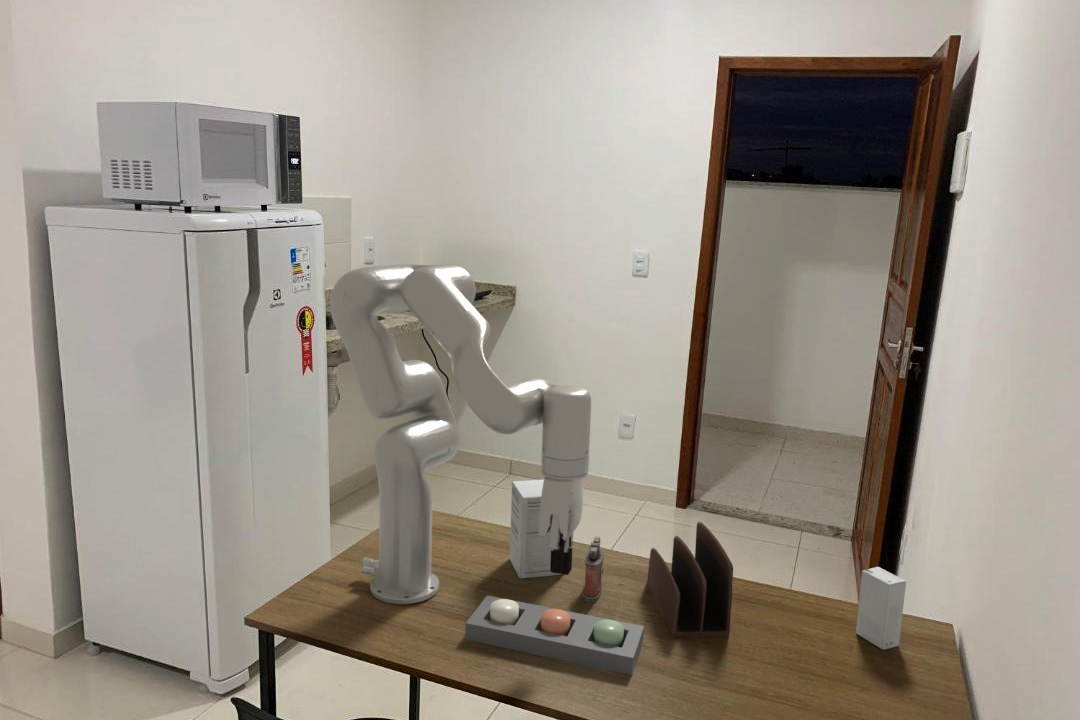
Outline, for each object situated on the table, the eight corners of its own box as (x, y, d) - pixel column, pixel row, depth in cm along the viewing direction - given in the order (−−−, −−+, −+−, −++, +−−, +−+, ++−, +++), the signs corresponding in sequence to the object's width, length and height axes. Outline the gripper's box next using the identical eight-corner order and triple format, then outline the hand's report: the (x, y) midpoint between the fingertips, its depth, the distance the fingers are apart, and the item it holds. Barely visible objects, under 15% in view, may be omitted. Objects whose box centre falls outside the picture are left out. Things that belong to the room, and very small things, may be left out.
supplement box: (552, 554, 164) (556, 477, 161) (565, 575, 156) (570, 494, 152) (507, 558, 162) (510, 480, 159) (518, 579, 153) (522, 496, 150)
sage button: (590, 648, 128) (591, 631, 127) (596, 633, 132) (597, 617, 132) (619, 654, 127) (620, 637, 126) (625, 639, 131) (626, 622, 130)
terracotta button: (536, 637, 130) (537, 620, 130) (545, 623, 135) (546, 606, 134) (565, 643, 129) (566, 626, 128) (572, 628, 134) (573, 612, 133)
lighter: (598, 603, 145) (602, 552, 143) (580, 600, 146) (583, 550, 144) (604, 583, 153) (607, 535, 151) (586, 581, 154) (589, 532, 152)
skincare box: (899, 646, 136) (909, 580, 133) (881, 651, 134) (890, 585, 131) (871, 628, 141) (879, 565, 139) (852, 633, 139) (861, 569, 137)
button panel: (465, 639, 131) (465, 622, 131) (486, 610, 141) (487, 595, 140) (631, 675, 124) (633, 658, 123) (642, 642, 133) (644, 626, 132)
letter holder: (696, 583, 156) (702, 515, 153) (729, 638, 136) (737, 561, 133) (646, 583, 154) (651, 515, 152) (673, 638, 135) (679, 561, 132)
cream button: (485, 626, 133) (486, 610, 132) (495, 612, 137) (496, 597, 137) (512, 632, 132) (513, 615, 131) (521, 618, 136) (522, 602, 135)
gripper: (555, 448, 134) (551, 550, 138) (528, 475, 120) (524, 588, 124) (598, 453, 132) (593, 556, 136) (576, 482, 118) (571, 596, 121)
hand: (560, 571), depth 130 cm, fingers closed
